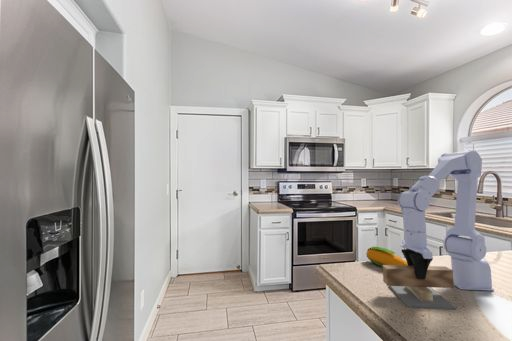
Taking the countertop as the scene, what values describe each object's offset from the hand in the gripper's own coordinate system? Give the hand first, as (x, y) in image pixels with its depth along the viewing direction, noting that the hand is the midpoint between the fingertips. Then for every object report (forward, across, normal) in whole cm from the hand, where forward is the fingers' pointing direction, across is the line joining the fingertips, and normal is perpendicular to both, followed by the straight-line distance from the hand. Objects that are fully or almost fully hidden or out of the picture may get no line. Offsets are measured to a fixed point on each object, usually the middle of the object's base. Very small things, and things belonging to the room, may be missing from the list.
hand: (417, 276), depth 75 cm
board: (+6, 0, 0) cm, 6 cm away
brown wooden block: (+2, 0, 0) cm, 2 cm away
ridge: (+6, 0, 0) cm, 6 cm away
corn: (+6, -26, +1) cm, 27 cm away
